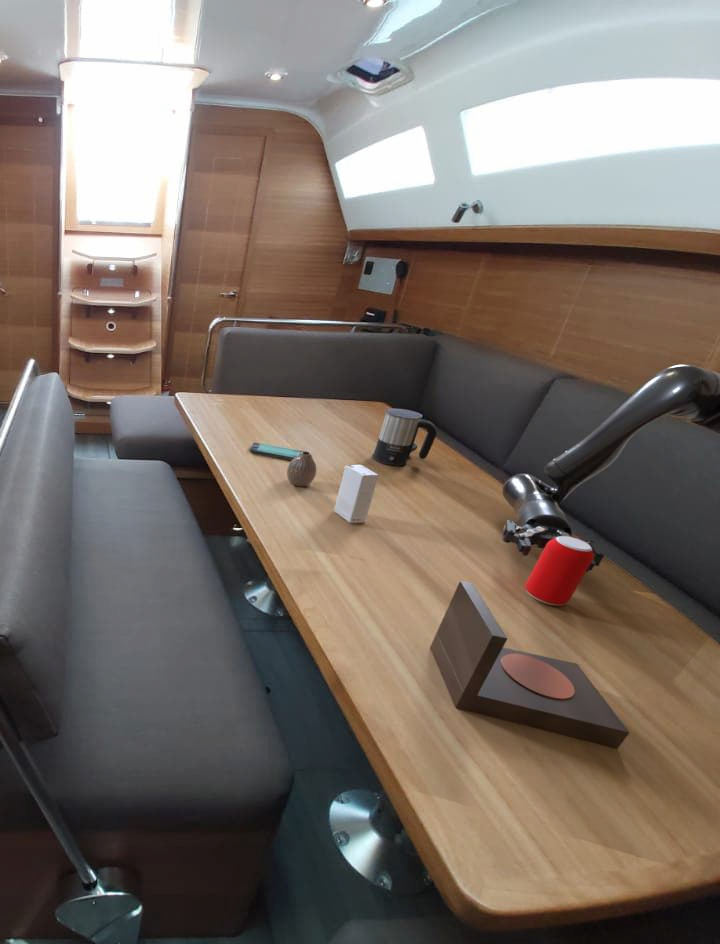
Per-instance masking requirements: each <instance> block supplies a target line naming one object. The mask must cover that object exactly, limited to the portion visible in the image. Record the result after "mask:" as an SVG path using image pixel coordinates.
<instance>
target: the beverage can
mask: <svg viewBox="0 0 720 944" xmlns="http://www.w3.org/2000/svg"><path fill="white" fill-rule="evenodd" d="M573 537H574V536H573ZM573 537H568V536H558V537H556V538H554V539H552V540H550V541H549V542H548V543H547V544H546V546H545V548H543V550H542V552H541V554H540V556H539V558H538V560H537V561H536V563H535V565H534V567H533V569H532V571H531V574H529V577H528V579H527V581H526V583H525V584H524V589H525V591H526V593H527V594H528V595H530V596H531V597H532V598H533V599H535V600H536V601H538V602H540V603H542V604H546V605H549V606H565V605H567V604H568V603H569V602H570V600H571V598H572V596H573V595H574V593H575V592H576V589H577V588H578V586H579V585H580V582H581V581H582V579H583V578H584V576H585V574H586V573H587V572H586V571H587V569H588V567H589V566H590V564H591V562H592V560H593V558H594V554H593V550H592V547H591V546H590V545H589V544H587V541H586V542H585V541H584V540H581V539H578V538H576V537H575V538H573Z"/></svg>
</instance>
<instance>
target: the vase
mask: <svg viewBox="0 0 720 944" xmlns="http://www.w3.org/2000/svg"><path fill="white" fill-rule="evenodd" d="M302 451H303V452H301V453H300V454H299V455H298V456H297V457H295V458H294V459H293V460H290V462H289V464H288V466H287V470H286V476H287V480H288V481H289V482H290V484H291V485H293V486H295V487H300V488H301V487H307V486H309V485H310V484H311V483H313V481H314V480H315V478H316V475H317V464H316V462H315V460H314V458H313V456H312V453H311V452H309V451H307V450H302Z"/></svg>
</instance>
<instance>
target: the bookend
mask: <svg viewBox="0 0 720 944" xmlns="http://www.w3.org/2000/svg"><path fill="white" fill-rule="evenodd" d="M507 640H508V637H507V635H506V633H505V632H504V630H503V629H502V628H501V626H500V624H499V623H498V621H497V620H496V618H495V616H494V615H493V613H492V611H491V610H490V609H489V607H488V605H487V604H486V602H485V600H484V599H483V597H482V596H481V594H480V592H479V591H478V590H477V588H476V586H475V585H474V583H473V582H468V581H463V580H459V582H458V584H457V587H456V589H455V591H454V593H453V596H452V598H451V600H450V603H449V604H448V606H447V609H446V611H445V613H444V615H443V618H442V619H441V622H440V624H439V626H438V629H437V631H436V632H435V635H434V638H433V639H432V642H431V644H430V646H429V647H430V648H429V649H430V651H431V654H432V656H433V658H434V661H435V663H436V665H437V667H438V670H439V672H440V675H441V677H442V680H443V681H444V684H445V686H446V688H447V691H448V694H449V695H450V698H451V701H452V703H453V706H454V707H455V709H459V710H463V711H467V712H472V713H475V714H479V715H484V716H487V717H492V718H495V719H499V720H503V721H507V722H511V723H514V724H518V725H524V726H526V727H531V728H535V729H539V730H542V731H547V732H551V733H555V734H559V735H563V736H566V737H570V738H575V739H579V740H581V741H587V742H591V743H595V744H597V745H602V746H607V747H610V748H615V749H619V748H620V746H621V745H622V744H623V742H624V741H625V740H626V738H627V737H628V736H629V734H630V731H629V730H628V728H627V727H626V725H624V723H623V722H622V720H621V719H620V718H619V717H618V715H617V714H616V713H615V711H614V710H613V708H612V707H611V706H610V705H609V703H608V702H607V701H606V700H605V698H604V697H603V696H602V694H601V693H600V692H599V690H598V689H597V687H596V686H595V685H594V684H593V682H592V681H591V680H590V678H589V677H588V675H587V674H586V673H585V672H584V671H583V670H582V668H581V666H580V665H579V664H578V663H576V662H571V661H567V660H562V659H557V658H553V657H549V656H545V655H539V654H534V653H530V652H525V651H522V650H516V649H511V648H507V647H504V646H505V644H506V642H508V641H507Z"/></svg>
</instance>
